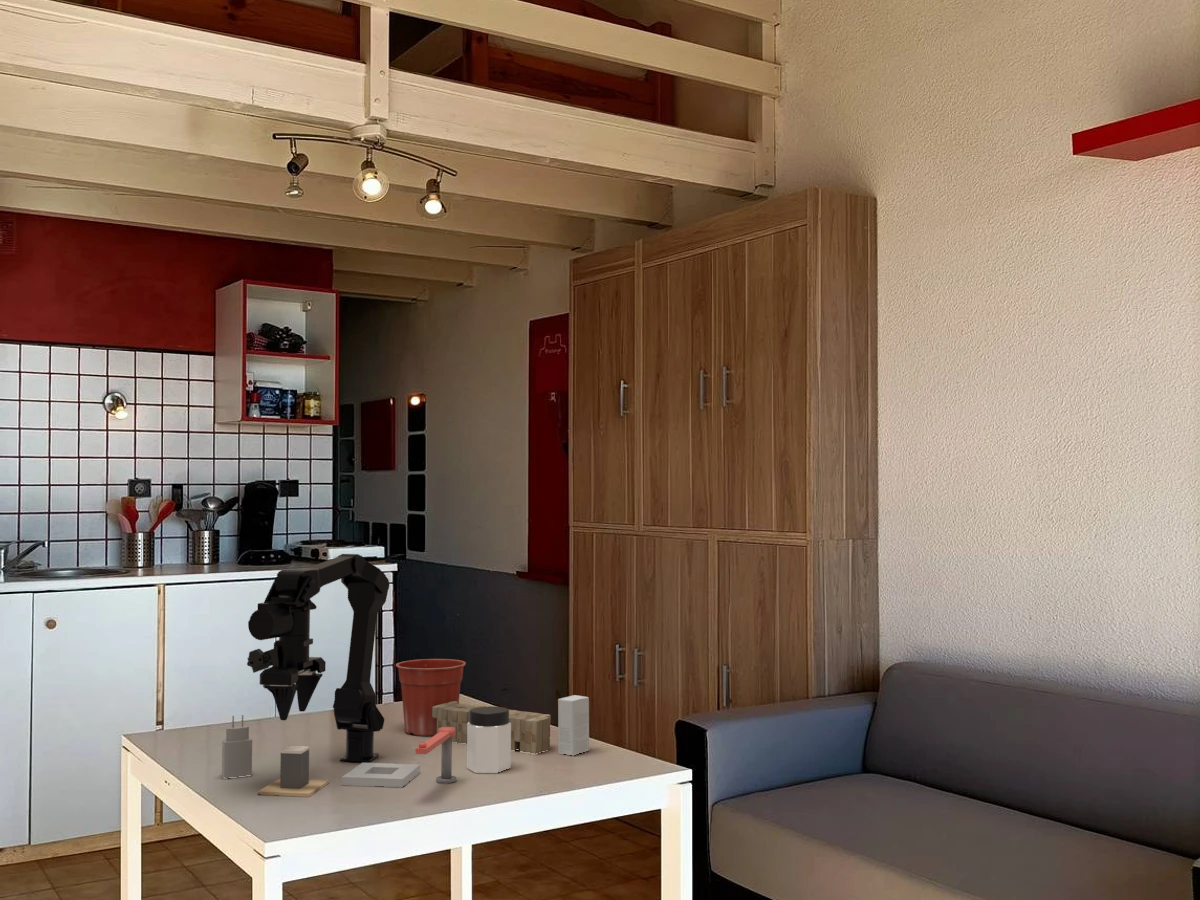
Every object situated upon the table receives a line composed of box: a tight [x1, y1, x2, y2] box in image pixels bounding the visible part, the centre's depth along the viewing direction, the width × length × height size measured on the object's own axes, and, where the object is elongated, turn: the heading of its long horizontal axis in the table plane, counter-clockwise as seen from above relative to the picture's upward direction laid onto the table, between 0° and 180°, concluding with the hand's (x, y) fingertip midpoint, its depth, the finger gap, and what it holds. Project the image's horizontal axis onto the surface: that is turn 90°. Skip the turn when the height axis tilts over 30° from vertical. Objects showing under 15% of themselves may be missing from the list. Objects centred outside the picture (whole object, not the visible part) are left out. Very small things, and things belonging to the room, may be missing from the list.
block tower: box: [432, 701, 552, 754], centre depth 255 cm, size 8×8×29 cm
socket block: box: [341, 737, 458, 788], centre depth 222 cm, size 12×21×9 cm, turn 83°
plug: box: [279, 745, 310, 789], centre depth 215 cm, size 4×4×7 cm
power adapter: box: [221, 714, 253, 778], centre depth 224 cm, size 3×5×12 cm, turn 122°
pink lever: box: [415, 727, 455, 755], centre depth 214 cm, size 18×3×2 cm, turn 171°
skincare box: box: [557, 694, 590, 755], centre depth 246 cm, size 6×4×12 cm
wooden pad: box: [256, 778, 329, 798], centre depth 214 cm, size 10×10×1 cm
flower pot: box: [395, 658, 467, 737], centre depth 269 cm, size 16×16×16 cm
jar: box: [466, 706, 512, 774], centre depth 231 cm, size 9×8×12 cm
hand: (293, 715), depth 219 cm, fingers open, 9 cm apart
